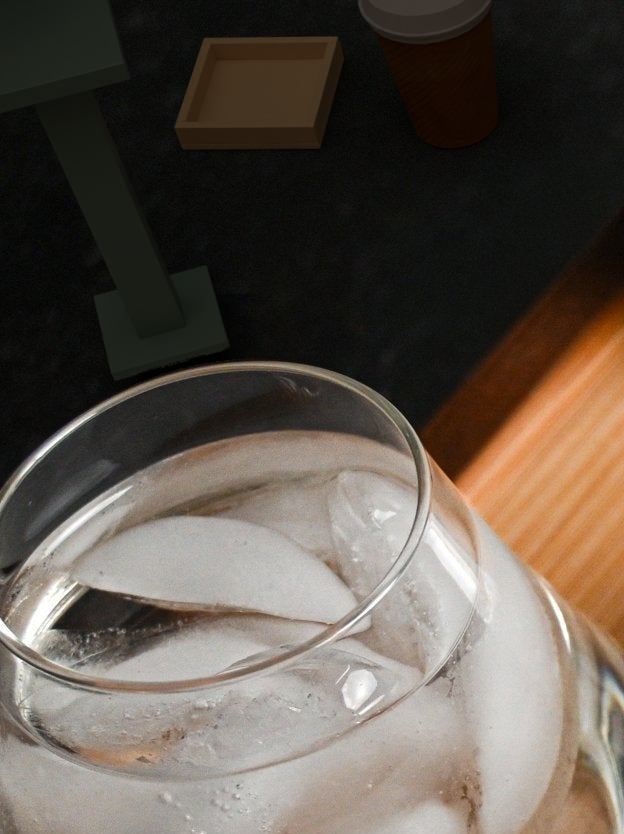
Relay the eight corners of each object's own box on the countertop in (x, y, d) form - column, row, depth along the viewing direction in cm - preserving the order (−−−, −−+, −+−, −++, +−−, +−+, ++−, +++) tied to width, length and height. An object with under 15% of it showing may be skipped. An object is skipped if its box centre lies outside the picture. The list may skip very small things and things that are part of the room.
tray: (320, 149, 142) (313, 126, 141) (182, 150, 143) (173, 127, 141) (344, 58, 148) (338, 36, 146) (211, 60, 148) (203, 37, 147)
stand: (108, 388, 130) (-32, 102, 111) (88, 301, 135) (-49, 12, 115) (239, 351, 131) (124, 62, 112) (215, 266, 136) (100, -26, 117)
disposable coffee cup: (372, 152, 142) (331, 9, 132) (422, 71, 147) (386, -74, 136) (492, 173, 140) (460, 29, 130) (539, 90, 145) (511, -56, 135)
